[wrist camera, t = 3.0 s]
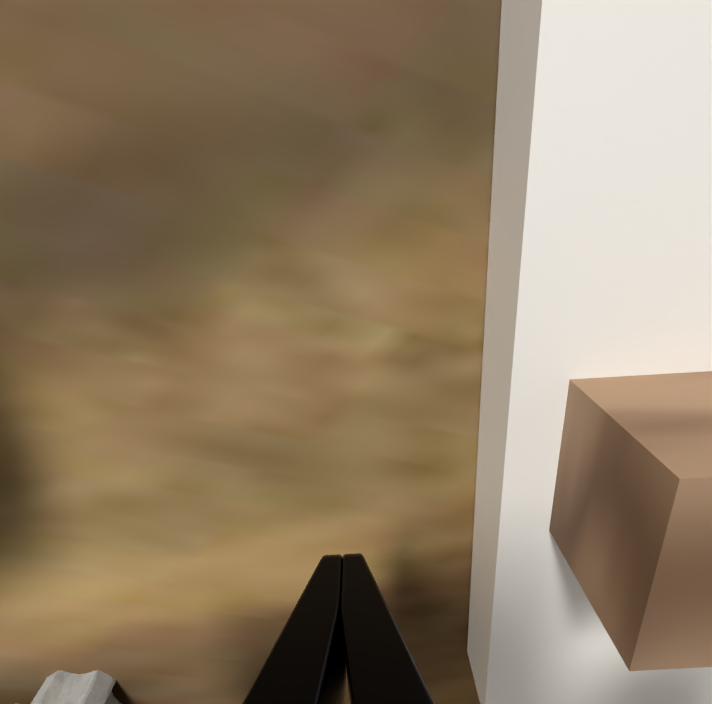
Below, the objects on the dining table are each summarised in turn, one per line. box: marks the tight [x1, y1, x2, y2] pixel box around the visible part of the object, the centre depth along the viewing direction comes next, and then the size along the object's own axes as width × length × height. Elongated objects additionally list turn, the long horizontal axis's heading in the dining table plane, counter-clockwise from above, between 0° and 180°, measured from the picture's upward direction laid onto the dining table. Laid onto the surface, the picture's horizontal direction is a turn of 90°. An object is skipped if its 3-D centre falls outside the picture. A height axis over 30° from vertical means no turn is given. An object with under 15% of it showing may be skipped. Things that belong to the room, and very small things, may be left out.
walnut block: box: [549, 371, 712, 671], centre depth 10 cm, size 5×5×4 cm
